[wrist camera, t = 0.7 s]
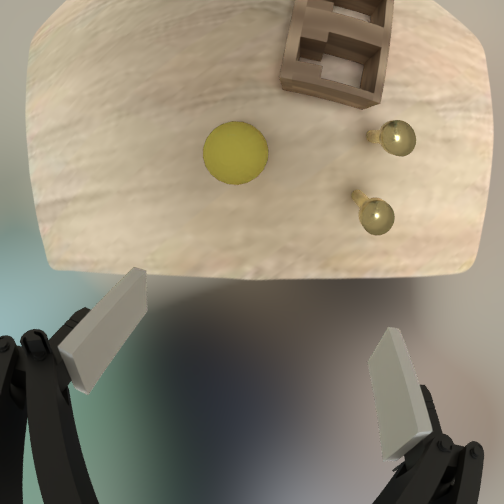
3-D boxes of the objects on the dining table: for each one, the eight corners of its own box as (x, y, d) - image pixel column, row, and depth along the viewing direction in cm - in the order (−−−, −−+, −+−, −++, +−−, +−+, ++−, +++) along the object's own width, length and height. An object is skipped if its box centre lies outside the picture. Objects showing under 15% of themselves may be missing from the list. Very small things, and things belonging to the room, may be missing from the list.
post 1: (362, 119, 30) (387, 115, 21) (387, 128, 30) (419, 127, 21) (356, 145, 32) (379, 149, 22) (381, 152, 31) (411, 161, 22)
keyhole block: (302, -6, 24) (302, -35, 17) (377, 13, 23) (394, -11, 16) (282, 89, 30) (279, 76, 23) (362, 109, 30) (380, 103, 22)
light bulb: (260, 115, 32) (247, 108, 23) (281, 164, 34) (276, 174, 25) (212, 136, 34) (182, 138, 25) (232, 183, 36) (211, 200, 27)
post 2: (348, 179, 33) (367, 196, 24) (372, 186, 33) (398, 206, 24) (341, 204, 35) (357, 230, 26) (365, 211, 35) (388, 239, 26)
